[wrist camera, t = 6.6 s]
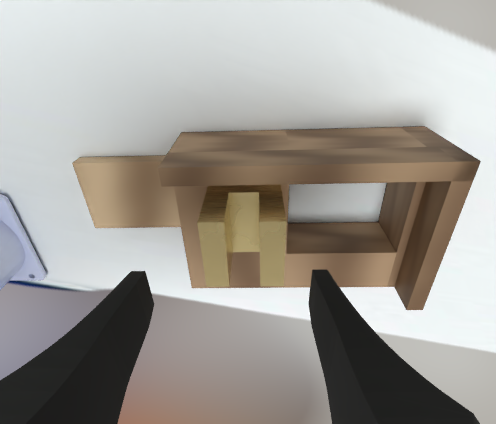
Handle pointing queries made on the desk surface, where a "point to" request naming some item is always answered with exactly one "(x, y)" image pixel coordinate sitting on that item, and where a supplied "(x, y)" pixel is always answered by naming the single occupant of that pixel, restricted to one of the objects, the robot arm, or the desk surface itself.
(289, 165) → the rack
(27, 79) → the desk surface
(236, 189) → the clip
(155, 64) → the desk surface
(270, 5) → the desk surface
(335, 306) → the robot arm
